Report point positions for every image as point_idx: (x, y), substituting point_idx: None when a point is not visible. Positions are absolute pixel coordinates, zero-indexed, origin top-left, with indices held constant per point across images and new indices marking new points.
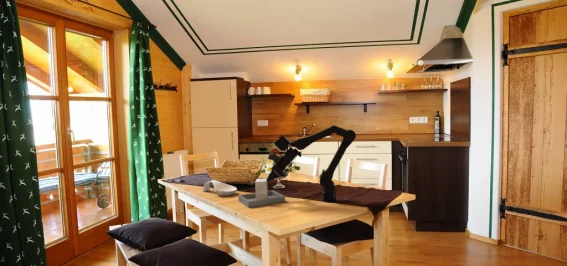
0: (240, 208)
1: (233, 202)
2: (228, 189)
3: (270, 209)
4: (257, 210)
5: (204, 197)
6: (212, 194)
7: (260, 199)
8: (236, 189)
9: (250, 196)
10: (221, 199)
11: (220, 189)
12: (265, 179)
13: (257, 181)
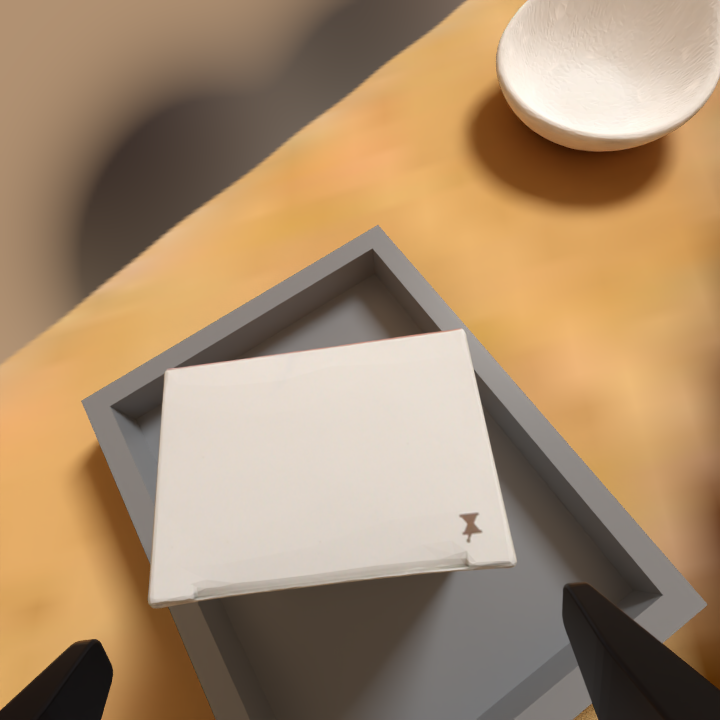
0: (110, 352)
1: (314, 239)
2: (668, 73)
3: (9, 689)
4: (7, 535)
5: (458, 10)
6: None
7: None
8: (627, 140)
9: None
10: (409, 126)
11: (624, 21)
12: (400, 545)
13: (178, 407)
